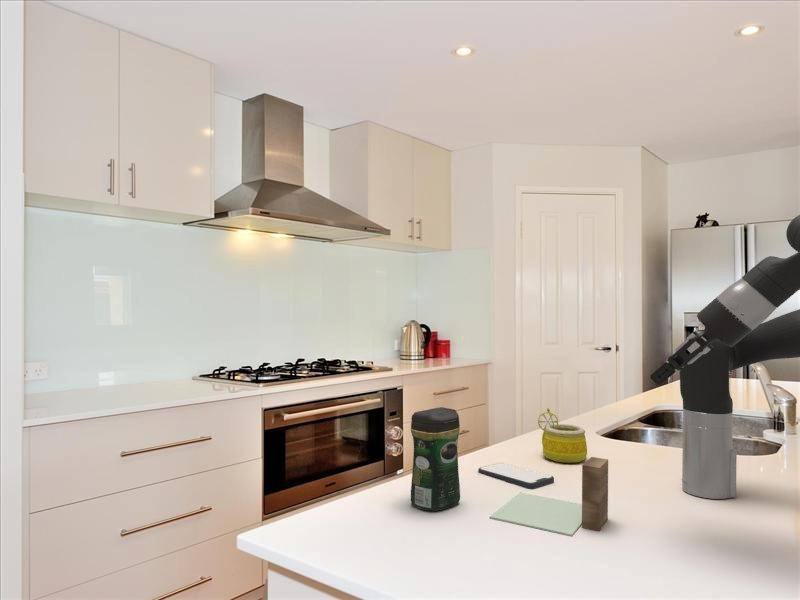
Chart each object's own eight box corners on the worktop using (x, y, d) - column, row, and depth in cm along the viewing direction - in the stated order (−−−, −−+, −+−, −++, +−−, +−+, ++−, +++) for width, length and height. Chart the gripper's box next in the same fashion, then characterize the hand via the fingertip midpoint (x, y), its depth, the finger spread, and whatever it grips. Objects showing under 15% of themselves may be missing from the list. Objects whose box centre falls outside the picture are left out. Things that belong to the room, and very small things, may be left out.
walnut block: (607, 519, 106) (608, 459, 106) (599, 531, 101) (599, 467, 101) (590, 516, 108) (591, 456, 108) (581, 527, 102) (582, 465, 102)
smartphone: (475, 475, 135) (531, 491, 123) (475, 468, 135) (531, 484, 123) (501, 468, 141) (556, 483, 128) (501, 461, 141) (556, 476, 128)
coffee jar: (436, 493, 120) (437, 403, 120) (466, 503, 114) (467, 408, 114) (402, 504, 113) (403, 408, 113) (432, 515, 107) (433, 414, 107)
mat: (594, 508, 112) (595, 506, 112) (572, 536, 98) (572, 534, 98) (520, 493, 120) (520, 492, 120) (489, 518, 106) (489, 516, 106)
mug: (596, 461, 146) (597, 412, 146) (567, 467, 139) (568, 417, 139) (556, 449, 156) (556, 405, 156) (527, 455, 150) (528, 409, 150)
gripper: (754, 330, 89) (666, 402, 95) (754, 327, 101) (677, 391, 108) (714, 295, 92) (632, 367, 98) (720, 296, 104) (646, 360, 110)
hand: (656, 379), depth 103 cm, fingers open, 4 cm apart
